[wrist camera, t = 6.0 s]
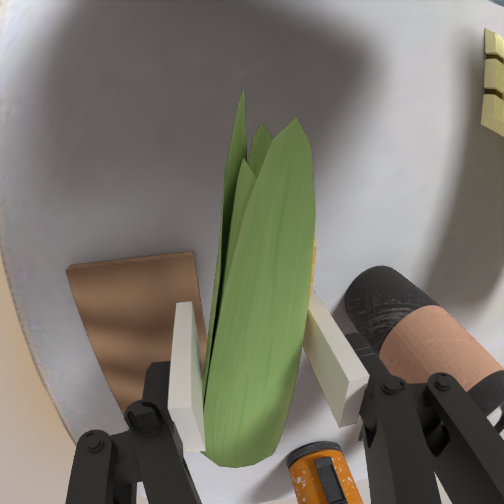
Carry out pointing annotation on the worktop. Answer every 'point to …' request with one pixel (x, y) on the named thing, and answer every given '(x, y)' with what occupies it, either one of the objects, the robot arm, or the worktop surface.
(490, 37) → the slatted curved stool
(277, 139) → the edible corn
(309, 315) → the robot arm
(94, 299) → the serving board
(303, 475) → the canister
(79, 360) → the worktop surface
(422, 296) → the travel mug
